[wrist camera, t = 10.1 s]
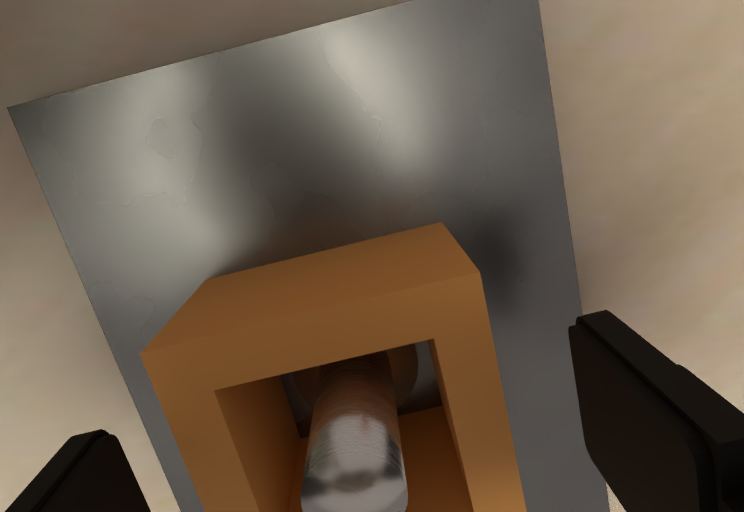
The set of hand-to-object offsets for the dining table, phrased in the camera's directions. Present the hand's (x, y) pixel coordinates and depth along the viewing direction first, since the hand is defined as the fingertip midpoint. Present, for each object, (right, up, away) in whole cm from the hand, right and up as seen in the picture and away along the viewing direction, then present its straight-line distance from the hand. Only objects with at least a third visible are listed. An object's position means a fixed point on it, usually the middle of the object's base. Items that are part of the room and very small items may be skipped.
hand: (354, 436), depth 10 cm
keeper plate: (0, +1, +4) cm, 4 cm away
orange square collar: (0, +1, +3) cm, 3 cm away
